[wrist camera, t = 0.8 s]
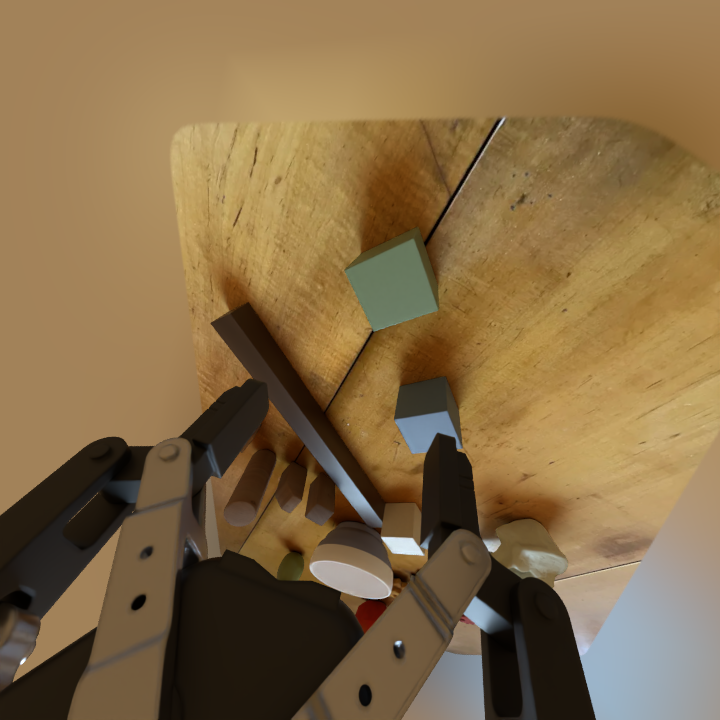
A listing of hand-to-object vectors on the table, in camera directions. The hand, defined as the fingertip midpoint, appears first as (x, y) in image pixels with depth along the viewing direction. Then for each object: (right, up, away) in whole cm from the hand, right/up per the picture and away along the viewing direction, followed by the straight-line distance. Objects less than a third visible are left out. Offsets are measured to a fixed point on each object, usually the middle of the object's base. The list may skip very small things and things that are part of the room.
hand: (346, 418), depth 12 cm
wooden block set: (-11, -12, +30) cm, 34 cm away
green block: (+4, +10, +10) cm, 15 cm away
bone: (+22, -24, +28) cm, 43 cm away
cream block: (+8, -22, +30) cm, 38 cm away
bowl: (+1, -30, +38) cm, 49 cm away
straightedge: (-4, -7, +24) cm, 25 cm away
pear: (-15, -45, +53) cm, 71 cm away
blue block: (+8, -2, +16) cm, 18 cm away
